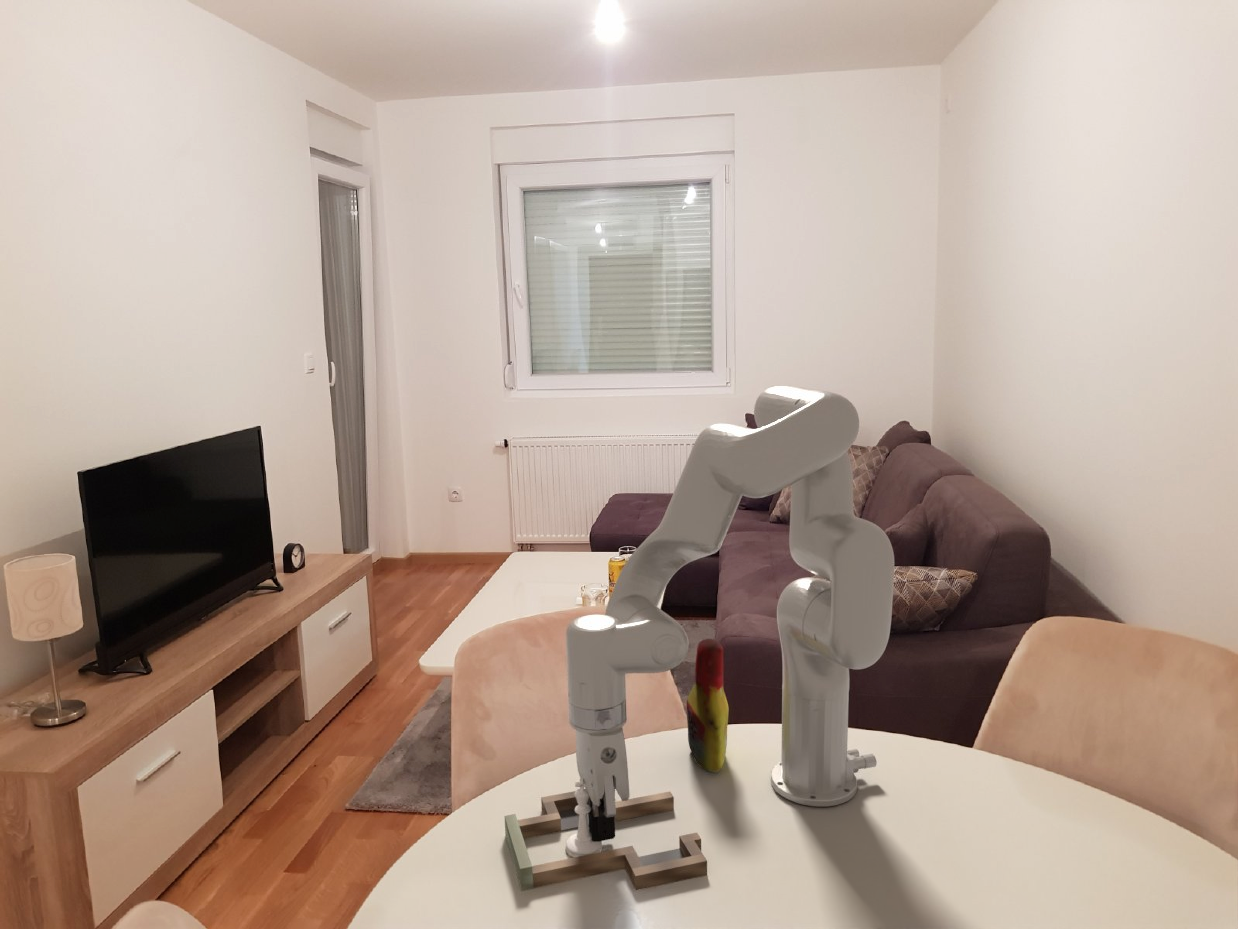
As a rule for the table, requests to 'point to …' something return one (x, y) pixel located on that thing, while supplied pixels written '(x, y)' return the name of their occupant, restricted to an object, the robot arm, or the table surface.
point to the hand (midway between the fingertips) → (602, 836)
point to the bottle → (708, 708)
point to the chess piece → (582, 827)
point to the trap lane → (639, 869)
